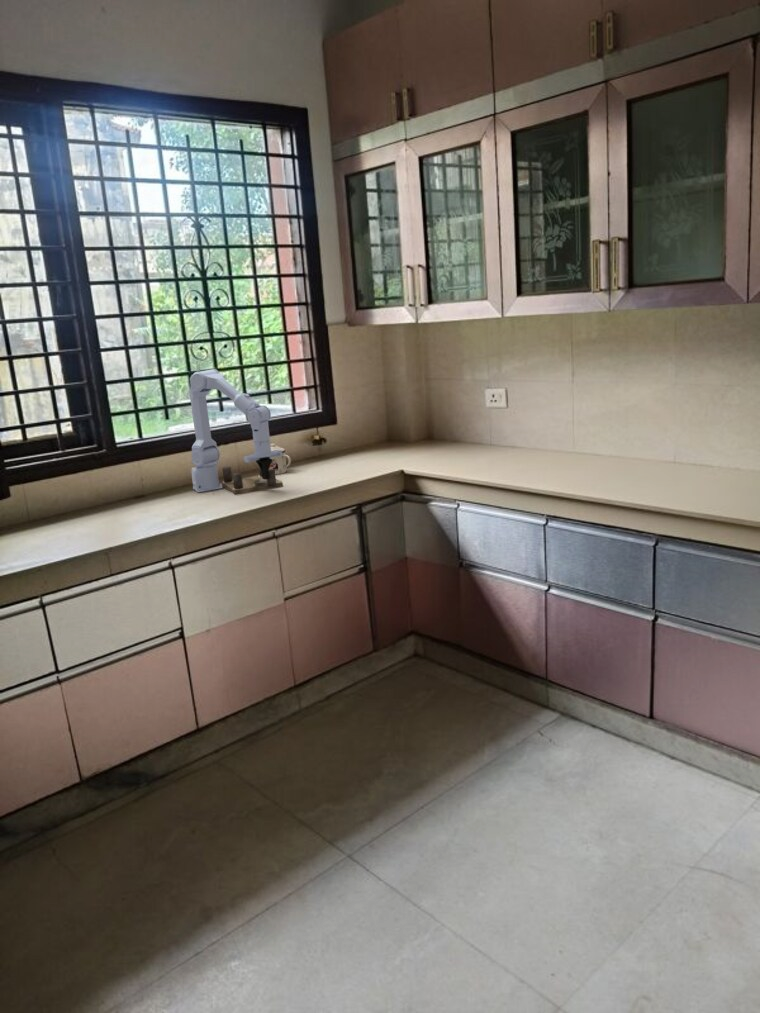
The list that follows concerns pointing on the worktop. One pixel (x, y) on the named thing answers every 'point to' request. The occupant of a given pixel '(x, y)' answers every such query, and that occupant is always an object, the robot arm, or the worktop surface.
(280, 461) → the teacup with lid
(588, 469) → the worktop surface
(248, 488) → the peg board with pegs
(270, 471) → the crank handle
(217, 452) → the robot arm
